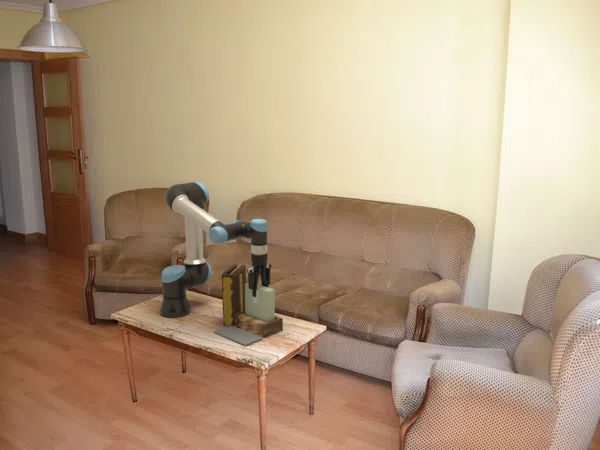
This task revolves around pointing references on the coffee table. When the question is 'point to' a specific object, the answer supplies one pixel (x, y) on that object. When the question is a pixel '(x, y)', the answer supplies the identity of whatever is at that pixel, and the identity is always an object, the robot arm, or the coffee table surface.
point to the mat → (238, 335)
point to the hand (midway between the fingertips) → (259, 301)
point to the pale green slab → (260, 303)
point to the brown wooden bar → (251, 324)
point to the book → (233, 293)
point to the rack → (266, 325)
